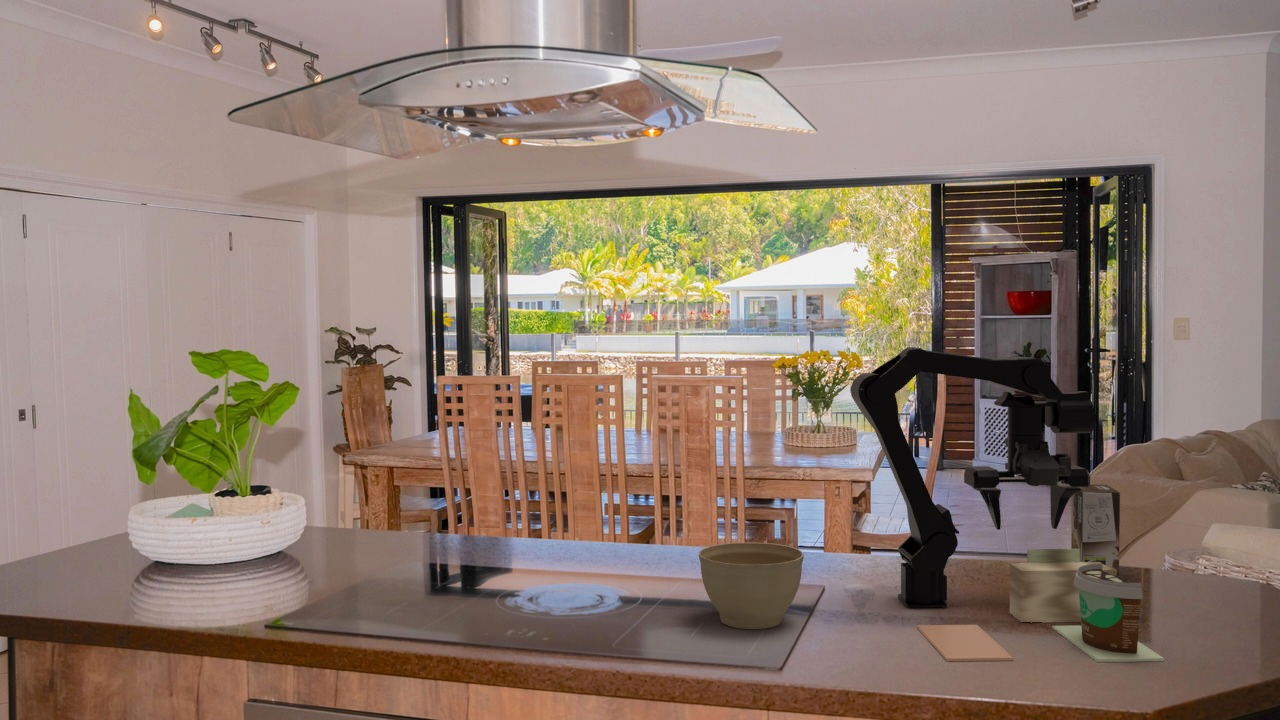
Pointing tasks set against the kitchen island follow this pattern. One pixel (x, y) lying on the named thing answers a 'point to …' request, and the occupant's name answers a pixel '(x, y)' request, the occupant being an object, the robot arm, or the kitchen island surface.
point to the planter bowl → (751, 582)
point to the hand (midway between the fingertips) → (1026, 528)
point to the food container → (1108, 609)
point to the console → (1047, 586)
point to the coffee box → (1096, 525)
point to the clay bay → (964, 643)
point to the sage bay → (1101, 655)
